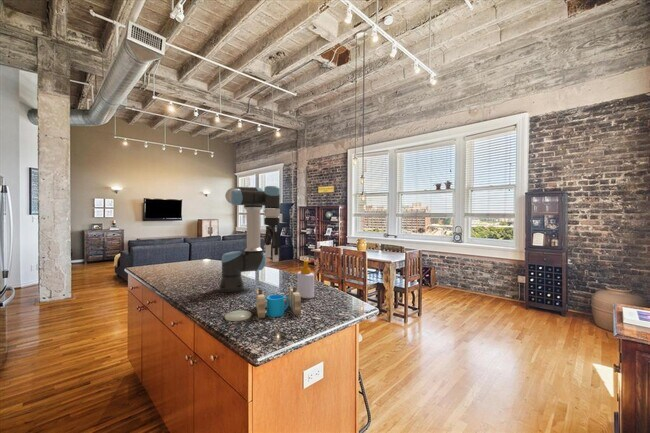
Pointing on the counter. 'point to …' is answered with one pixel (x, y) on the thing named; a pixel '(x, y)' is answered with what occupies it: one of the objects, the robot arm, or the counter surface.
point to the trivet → (238, 315)
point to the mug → (276, 305)
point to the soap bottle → (305, 282)
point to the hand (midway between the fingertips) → (271, 259)
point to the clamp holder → (293, 301)
